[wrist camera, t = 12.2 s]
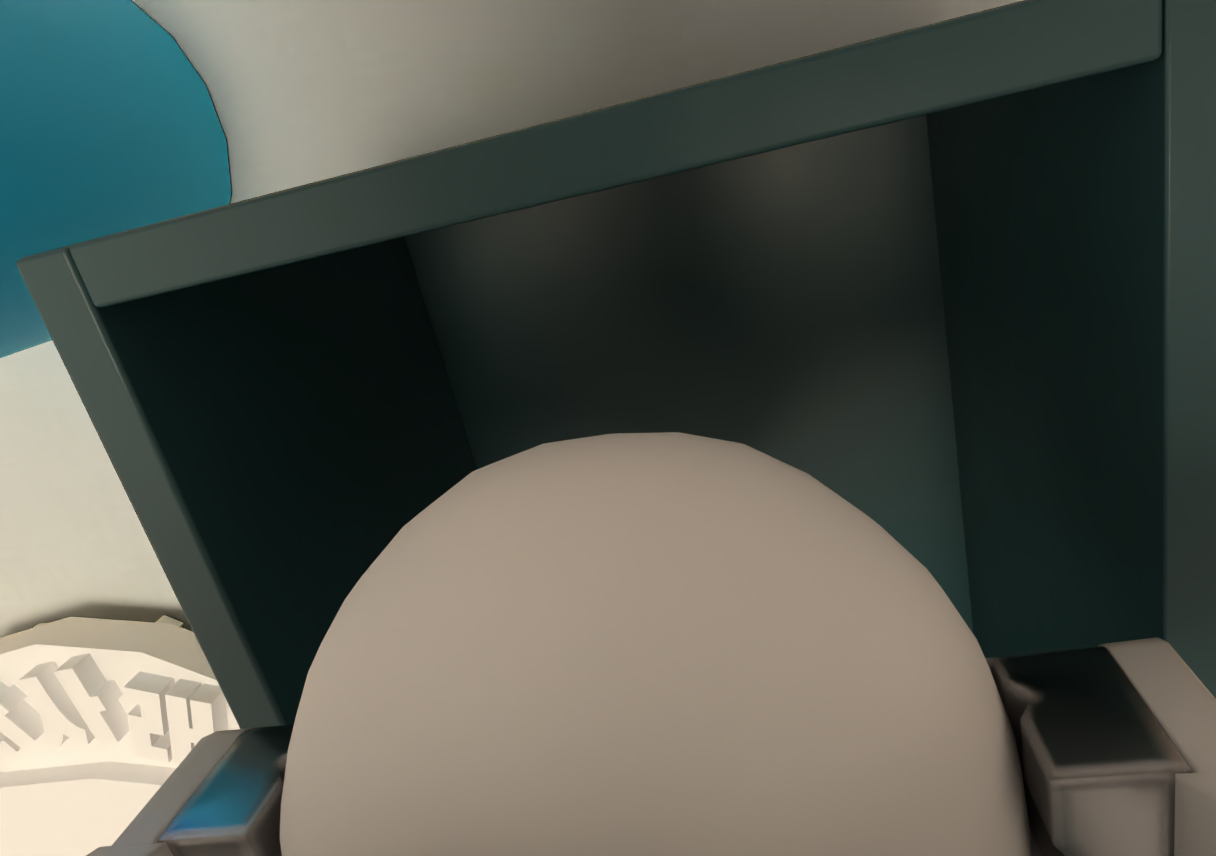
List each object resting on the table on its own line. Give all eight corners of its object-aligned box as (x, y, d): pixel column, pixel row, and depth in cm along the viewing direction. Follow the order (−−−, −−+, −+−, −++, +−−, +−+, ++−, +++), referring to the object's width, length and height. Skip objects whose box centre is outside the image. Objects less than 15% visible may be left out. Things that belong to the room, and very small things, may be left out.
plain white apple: (920, 306, 10) (1527, 942, 2) (924, 764, 12) (1223, 1768, 5) (381, 364, 11) (-325, 896, 4) (485, 768, 13) (193, 1568, 6)
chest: (369, 182, 20) (10, 260, 10) (950, 35, 17) (1266, -63, 7) (541, 717, 25) (423, 1111, 15) (1001, 674, 23) (1218, 1123, 13)
